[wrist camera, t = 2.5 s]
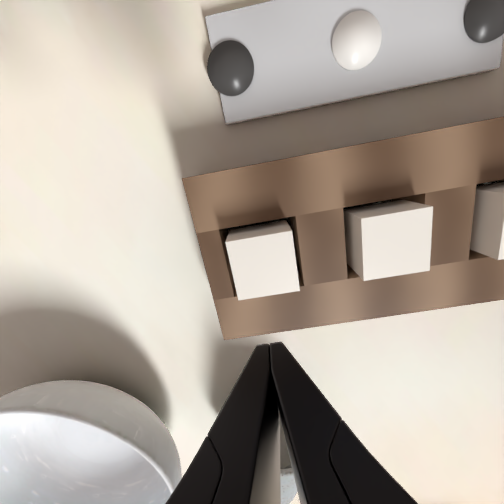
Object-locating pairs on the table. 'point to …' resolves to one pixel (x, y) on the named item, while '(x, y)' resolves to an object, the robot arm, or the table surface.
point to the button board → (333, 233)
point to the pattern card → (345, 50)
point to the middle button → (388, 239)
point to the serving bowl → (83, 447)
